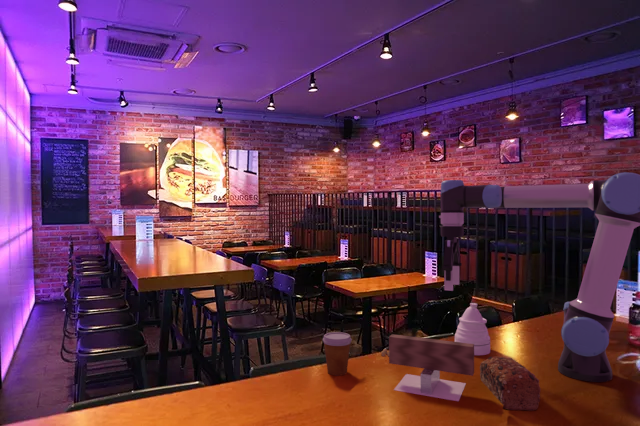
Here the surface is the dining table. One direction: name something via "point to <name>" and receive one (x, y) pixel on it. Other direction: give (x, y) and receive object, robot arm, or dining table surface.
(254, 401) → the dining table surface
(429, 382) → the steel ridge
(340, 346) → the disposable coffee cup
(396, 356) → the walnut beam
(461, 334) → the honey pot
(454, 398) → the base plate
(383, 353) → the dice set
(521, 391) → the bread
